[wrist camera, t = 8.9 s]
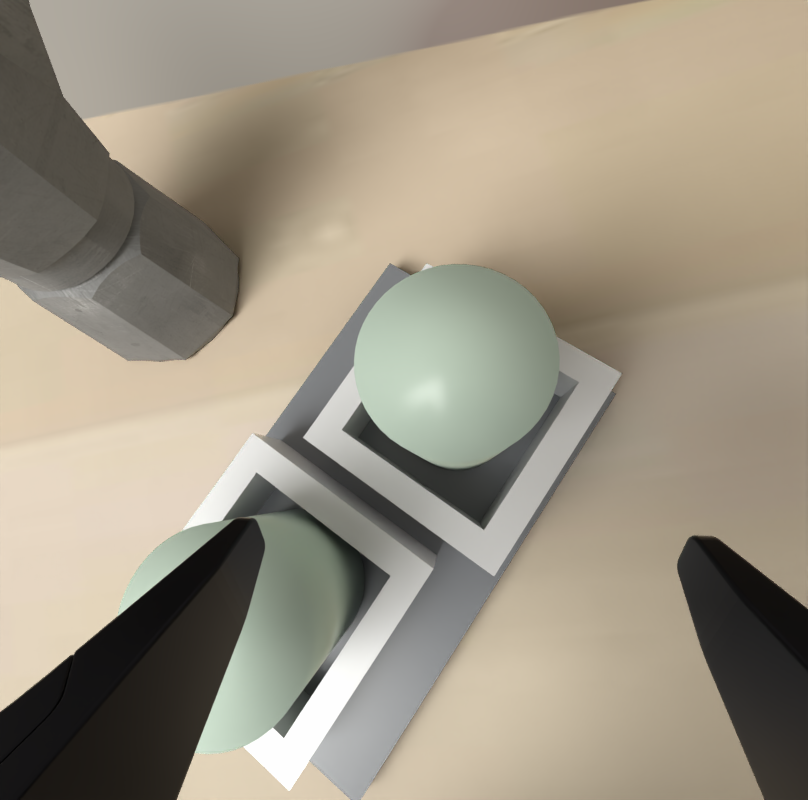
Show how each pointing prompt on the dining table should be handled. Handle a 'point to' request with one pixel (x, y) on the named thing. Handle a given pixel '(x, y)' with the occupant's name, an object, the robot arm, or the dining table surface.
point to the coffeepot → (97, 222)
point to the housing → (364, 562)
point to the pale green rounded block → (456, 364)
